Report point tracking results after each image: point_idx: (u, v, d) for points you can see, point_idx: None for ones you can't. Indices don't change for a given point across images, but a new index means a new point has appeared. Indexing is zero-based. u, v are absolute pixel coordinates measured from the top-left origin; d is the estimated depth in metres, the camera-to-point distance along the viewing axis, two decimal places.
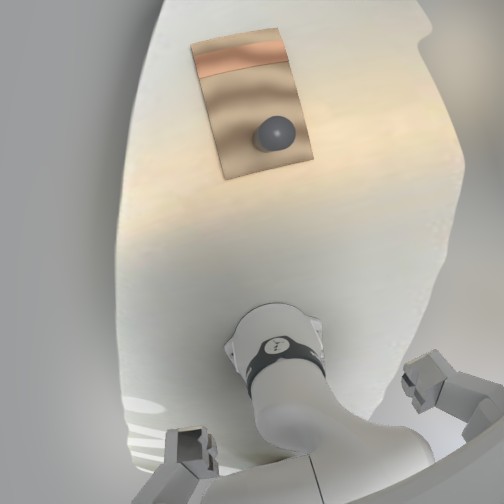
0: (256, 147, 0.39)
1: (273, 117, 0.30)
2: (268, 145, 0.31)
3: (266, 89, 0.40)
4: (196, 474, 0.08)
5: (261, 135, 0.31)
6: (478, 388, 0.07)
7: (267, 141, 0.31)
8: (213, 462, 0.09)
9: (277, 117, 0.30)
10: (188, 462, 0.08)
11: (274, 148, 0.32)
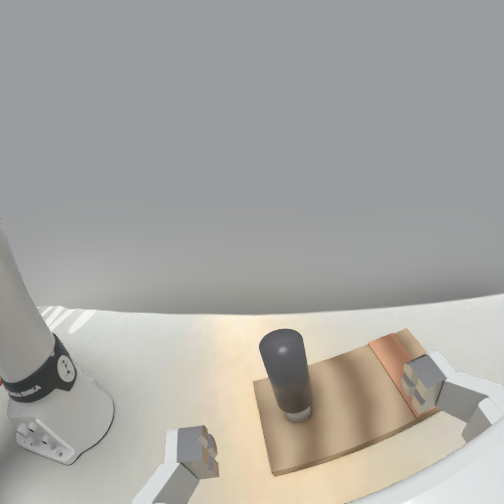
0: None
1: (300, 336, 0.26)
2: (265, 337, 0.27)
3: (367, 405, 0.29)
4: (196, 474, 0.08)
5: (277, 330, 0.28)
6: (478, 388, 0.07)
7: (270, 336, 0.27)
8: (213, 462, 0.09)
9: (300, 340, 0.26)
10: (188, 462, 0.08)
11: (261, 342, 0.27)
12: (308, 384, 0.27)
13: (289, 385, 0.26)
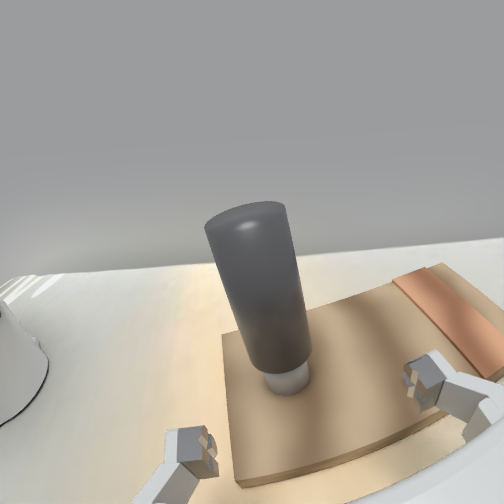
0: None
1: (280, 205, 0.14)
2: (220, 214, 0.16)
3: (404, 364, 0.17)
4: (196, 474, 0.08)
5: (242, 206, 0.16)
6: (478, 388, 0.07)
7: (228, 212, 0.16)
8: (213, 462, 0.09)
9: (280, 208, 0.14)
10: (188, 462, 0.08)
11: (211, 220, 0.15)
12: (301, 312, 0.16)
13: (263, 304, 0.14)
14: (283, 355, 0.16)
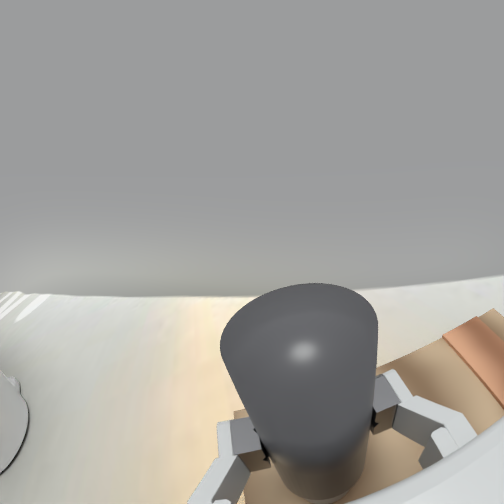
0: None
1: (363, 303, 0.07)
2: (245, 309, 0.08)
3: None
4: (249, 466, 0.09)
5: (285, 289, 0.09)
6: (434, 415, 0.07)
7: (261, 305, 0.08)
8: (266, 452, 0.09)
9: (367, 314, 0.07)
10: (245, 454, 0.08)
11: (231, 325, 0.08)
12: (367, 442, 0.08)
13: (321, 460, 0.07)
14: (333, 488, 0.08)
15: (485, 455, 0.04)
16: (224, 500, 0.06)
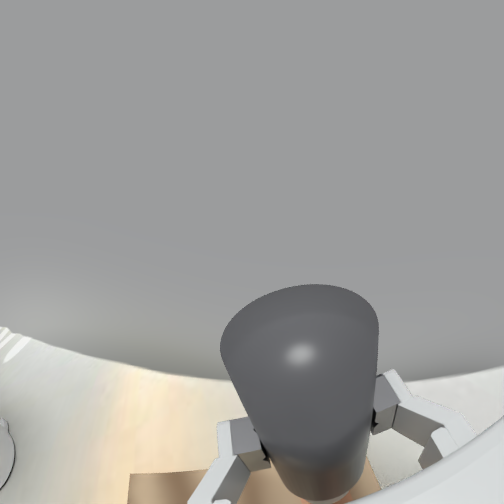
0: None
1: (363, 305, 0.07)
2: (246, 310, 0.08)
3: None
4: (249, 466, 0.09)
5: (285, 290, 0.09)
6: (434, 415, 0.07)
7: (261, 306, 0.08)
8: (266, 452, 0.09)
9: (367, 315, 0.07)
10: (245, 454, 0.08)
11: (231, 326, 0.08)
12: (367, 443, 0.08)
13: (321, 461, 0.07)
14: (333, 489, 0.08)
15: (485, 455, 0.04)
16: (224, 500, 0.06)
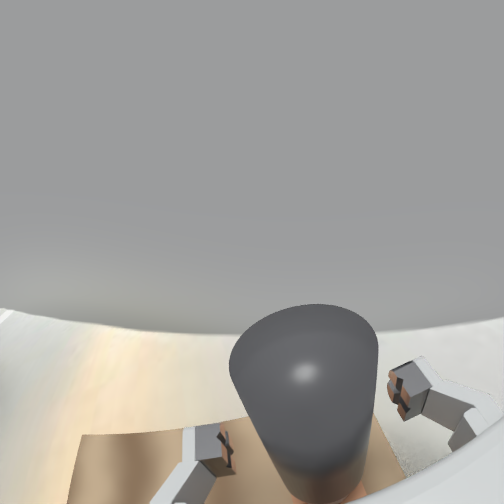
0: None
1: (364, 326, 0.08)
2: (252, 329, 0.09)
3: None
4: (214, 472, 0.08)
5: (290, 310, 0.09)
6: (464, 397, 0.07)
7: (268, 326, 0.09)
8: (231, 459, 0.09)
9: (368, 337, 0.07)
10: (207, 460, 0.08)
11: (239, 346, 0.08)
12: (366, 451, 0.09)
13: (323, 469, 0.07)
14: (334, 494, 0.09)
15: (485, 455, 0.04)
16: (183, 503, 0.06)
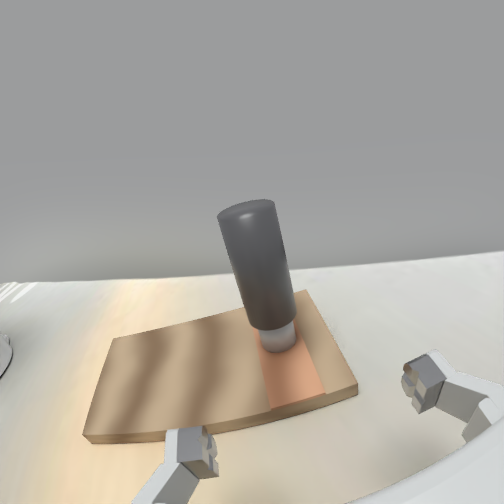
0: None
1: (271, 202, 0.20)
2: (227, 208, 0.21)
3: (212, 379, 0.23)
4: (196, 474, 0.08)
5: (244, 202, 0.22)
6: (478, 388, 0.07)
7: (234, 206, 0.21)
8: (213, 462, 0.09)
9: (271, 204, 0.20)
10: (188, 462, 0.08)
11: (221, 212, 0.21)
12: (287, 280, 0.21)
13: (258, 272, 0.20)
14: (274, 314, 0.21)
15: (485, 455, 0.04)
16: None
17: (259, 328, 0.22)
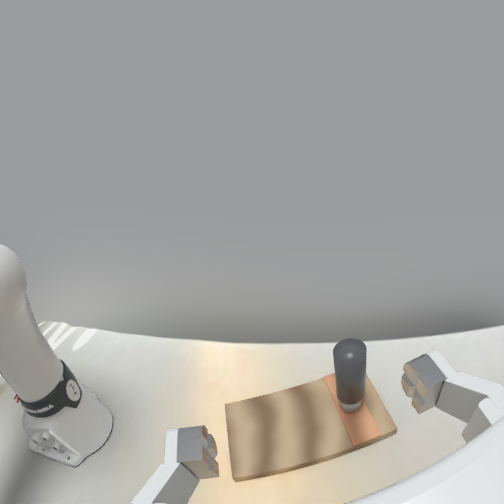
0: None
1: (363, 344, 0.32)
2: (336, 345, 0.34)
3: (314, 431, 0.35)
4: (196, 474, 0.08)
5: (344, 340, 0.34)
6: (478, 388, 0.07)
7: (340, 344, 0.34)
8: (213, 462, 0.09)
9: (364, 347, 0.32)
10: (188, 462, 0.08)
11: (334, 350, 0.33)
12: (365, 380, 0.34)
13: (354, 382, 0.32)
14: (356, 397, 0.34)
15: (485, 455, 0.04)
16: None
17: (345, 403, 0.35)
